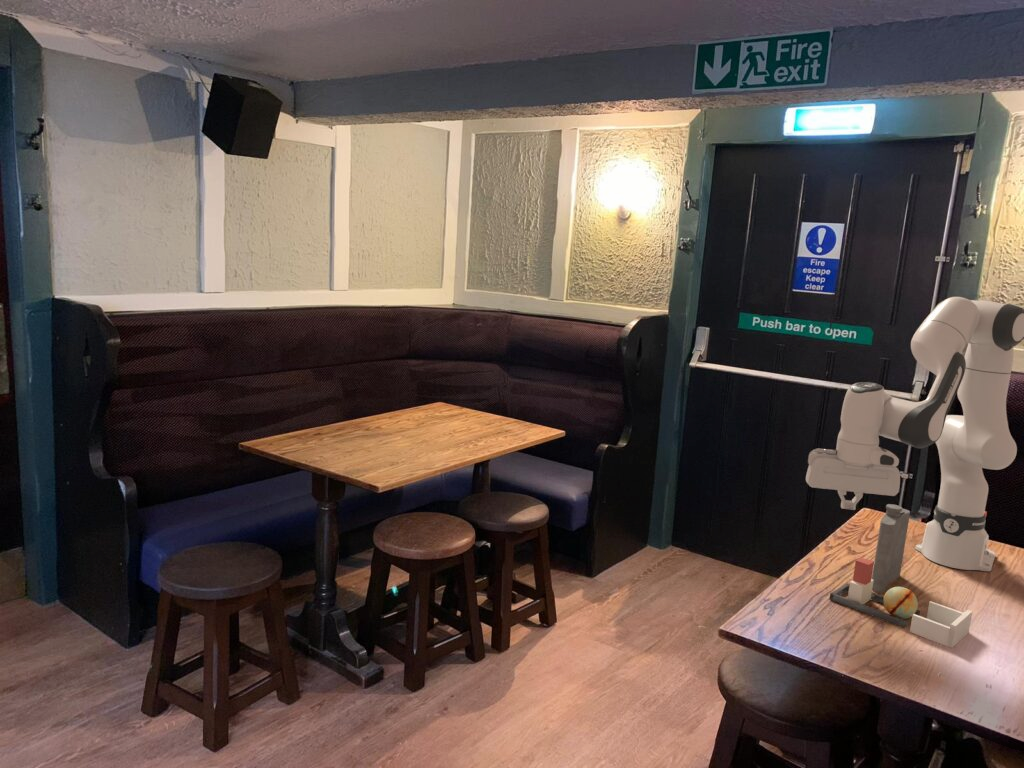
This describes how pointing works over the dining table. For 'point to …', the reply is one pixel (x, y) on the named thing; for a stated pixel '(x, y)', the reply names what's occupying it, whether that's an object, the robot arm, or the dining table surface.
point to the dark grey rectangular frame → (866, 609)
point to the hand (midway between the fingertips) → (847, 508)
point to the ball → (900, 602)
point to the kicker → (861, 581)
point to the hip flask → (890, 546)
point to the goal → (942, 624)
